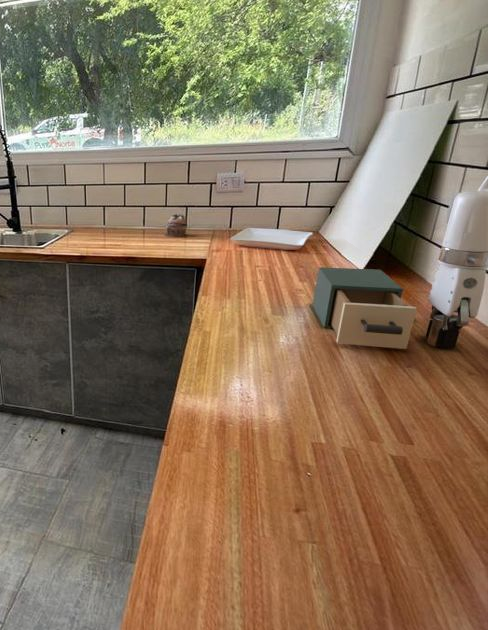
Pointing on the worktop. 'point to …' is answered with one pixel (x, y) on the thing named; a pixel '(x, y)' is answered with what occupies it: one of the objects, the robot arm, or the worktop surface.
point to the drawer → (371, 318)
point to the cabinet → (347, 287)
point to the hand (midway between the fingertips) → (439, 341)
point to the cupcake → (176, 226)
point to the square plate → (271, 238)
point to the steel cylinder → (436, 328)
